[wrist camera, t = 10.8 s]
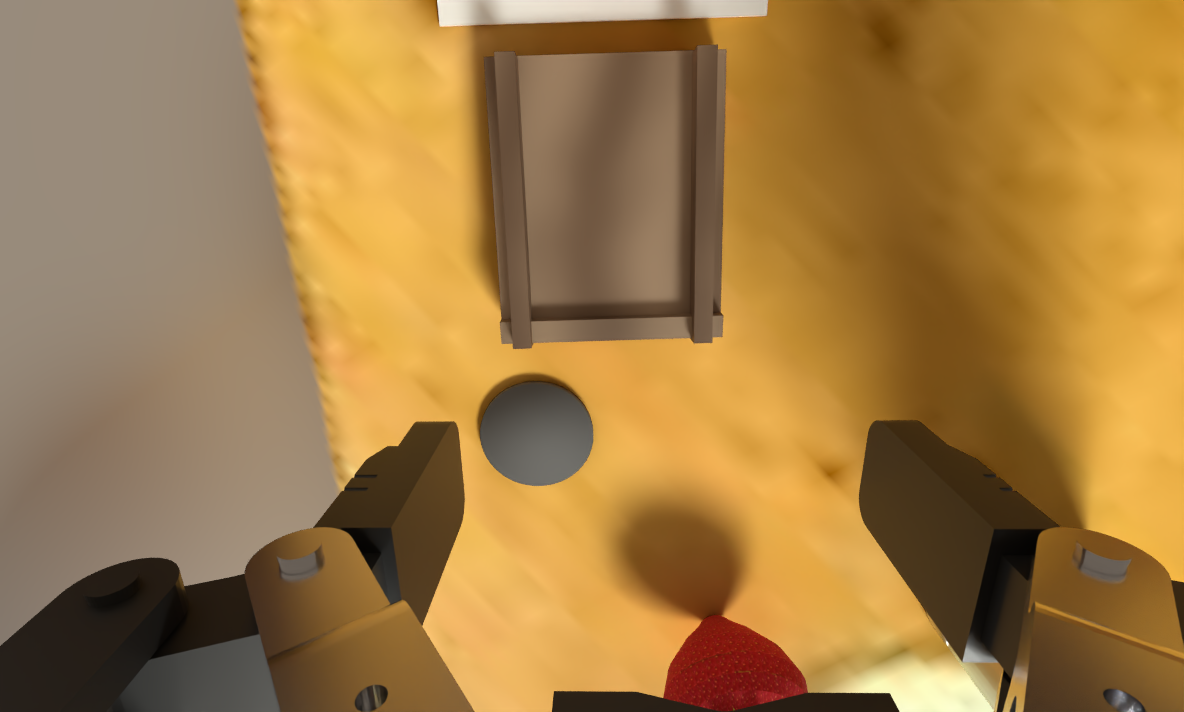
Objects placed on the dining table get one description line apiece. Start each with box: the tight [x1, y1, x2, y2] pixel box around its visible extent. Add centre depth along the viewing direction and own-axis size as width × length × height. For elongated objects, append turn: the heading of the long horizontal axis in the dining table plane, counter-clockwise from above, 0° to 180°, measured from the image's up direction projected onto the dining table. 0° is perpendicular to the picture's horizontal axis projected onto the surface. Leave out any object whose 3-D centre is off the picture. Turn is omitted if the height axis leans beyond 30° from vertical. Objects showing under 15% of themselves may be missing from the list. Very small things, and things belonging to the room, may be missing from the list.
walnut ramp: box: [484, 45, 726, 349], centre depth 26 cm, size 10×12×4 cm
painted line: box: [437, 0, 768, 26], centre depth 25 cm, size 14×1×1 cm, turn 92°
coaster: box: [480, 381, 593, 486], centre depth 32 cm, size 6×6×1 cm
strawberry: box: [664, 615, 808, 711], centre depth 31 cm, size 6×8×10 cm
